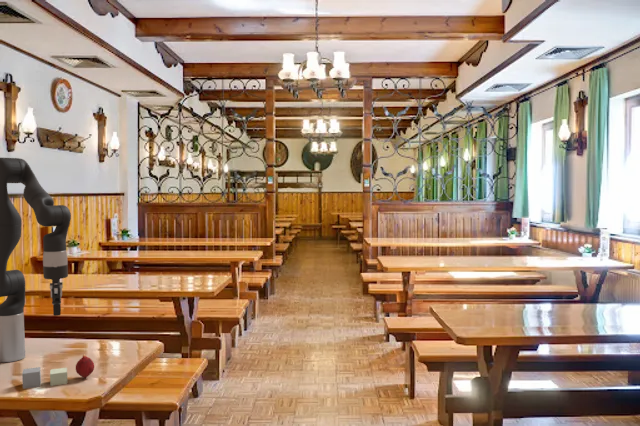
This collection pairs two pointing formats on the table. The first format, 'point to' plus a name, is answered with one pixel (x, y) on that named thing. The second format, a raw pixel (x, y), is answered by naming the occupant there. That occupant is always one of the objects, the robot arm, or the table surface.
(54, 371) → the sage block
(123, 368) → the table surface
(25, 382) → the slate block
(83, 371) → the onion
